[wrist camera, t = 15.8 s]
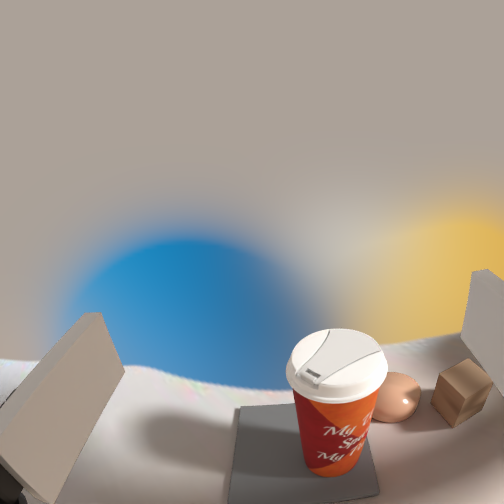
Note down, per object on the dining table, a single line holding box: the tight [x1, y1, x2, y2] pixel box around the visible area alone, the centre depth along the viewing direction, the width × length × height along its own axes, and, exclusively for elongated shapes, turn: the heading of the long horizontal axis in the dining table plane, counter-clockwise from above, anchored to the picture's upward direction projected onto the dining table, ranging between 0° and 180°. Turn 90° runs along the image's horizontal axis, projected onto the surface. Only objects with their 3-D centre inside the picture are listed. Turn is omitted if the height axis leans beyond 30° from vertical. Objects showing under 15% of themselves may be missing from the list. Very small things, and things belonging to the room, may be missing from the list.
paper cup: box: [286, 329, 387, 477], centre depth 24 cm, size 8×8×14 cm
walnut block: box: [431, 358, 493, 428], centre depth 27 cm, size 5×5×5 cm
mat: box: [227, 403, 379, 504], centre depth 28 cm, size 14×14×1 cm
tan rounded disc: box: [372, 372, 421, 423], centre depth 32 cm, size 7×7×2 cm
